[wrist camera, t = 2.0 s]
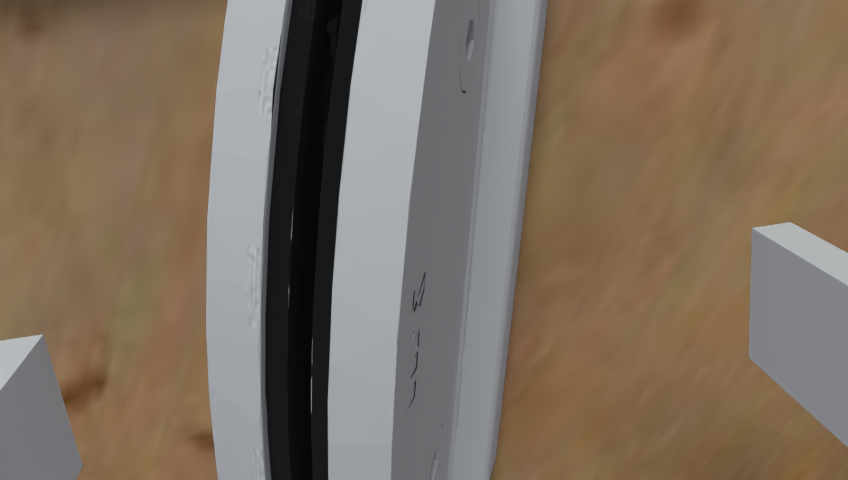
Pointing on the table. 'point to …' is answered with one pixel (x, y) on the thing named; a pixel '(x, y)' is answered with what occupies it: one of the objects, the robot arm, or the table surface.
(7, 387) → the robot arm
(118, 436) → the table surface
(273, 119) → the grey arched slotted casing
